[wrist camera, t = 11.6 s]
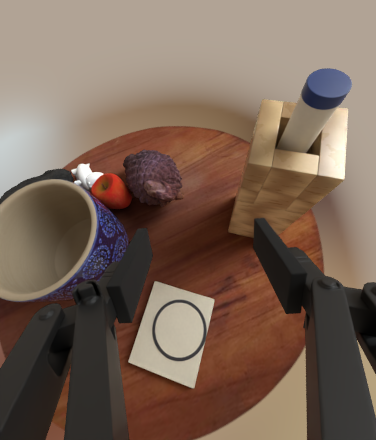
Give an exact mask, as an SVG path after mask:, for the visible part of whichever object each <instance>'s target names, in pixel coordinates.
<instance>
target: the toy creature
mask: <svg viewBox="0 0 376 440" xmlns="http://www.w3.org/2000/svg"><path fill="white" fill-rule="evenodd" d="M89 165H90V163H89V164H86V165H85V164H79V165H78V167H77V169H73V170H72V173H73V174H74V175H75V176H76V178H77V181H74V183H75V184H77V185H79V186H80V187H82V188H83V189H85V190H88V191H89V190H91V187H92V185H93V184H94V182H95V181H96V180H97V179H98V178H99V177H100V176H101V175H103V173H100V172H93V173H92V171H91V169H90V168H89ZM76 174H77V175H76Z"/></svg>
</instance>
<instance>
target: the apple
mask: <svg viewBox="0 0 376 440" xmlns="http://www.w3.org/2000/svg"><path fill="white" fill-rule="evenodd" d="M90 192H91V195H93V196H94V197H95V198H96V199H98V200H99V201H100V202H101V203H102V204H103V205H105V206H106V207H107V208H111V209H123V208H126V207H128V206H129V205H130V203H131V200H132V195H131V193H130V191H129V189H128V188H127V186H126V185H125V184H124V182H123V181H122V180H121V179H120V178H119V177H118V176H117V175H115V174H112V173H108V174H103V175H101V176H100V177H99V178H98V179H97V180H96V181H95V182H94V184H93V185H92V187H91V191H90Z"/></svg>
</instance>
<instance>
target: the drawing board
mask: <svg viewBox="0 0 376 440" xmlns="http://www.w3.org/2000/svg"><path fill="white" fill-rule="evenodd" d="M214 301H215V300H214V299H211V298H208V297H205V296H202V295H199V294H195V293H192V292H189V291H186V290H183V289H179V288H176V287H173V286H170V285H167V284H163V283H160V282H157V281H155V282H154V285H153V288H152V291H151V294H150V297H149V300H148V303H147V306H146V309H145V312H144V316H143V319H142V322H141V325H140V328H139V331H138V334H137V337H136V340H135V343H134V346H133V349H132V352H131V355H130V358H129V361H128V362H129V363H131V364H134V365H136V366H138V367H141V368H143V369H146V370H148V371H151V372H153V373H156V374H158V375H161V376H163V377H166V378H168V379H171V380H173V381H175V382H178V383H180V384H183V385H185V386H188V387H190V388H193V389H194V387H195V383H196V378H197V374H198V370H199V365H200V361H201V357H202V352H203V348H204V344H205V340H206V335H207V331H208V327H209V322H210V318H211V314H212V309H213V305H214Z"/></svg>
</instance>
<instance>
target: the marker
mask: <svg viewBox="0 0 376 440" xmlns="http://www.w3.org/2000/svg"><path fill="white" fill-rule="evenodd" d="M351 87H352V82H351V79H350V78H349V77H348V75H346V74H345V73H343V72H341V71H339V70H336V69H320V70H317V71H315V72H313V73H312V74H310V75H309V77H308V78H307V81H306V83H305V85H304V87H303V89H302V93H301V95H300V98H299V100H298V102H297V104H296V106H295V108H294V111H293V113H292V115H291V117H290V119H289V122H288V124H287V126H286V128H285V130H284V132H283V135H282V137H281V139H280V141H279V143H278V146H277V148H276V149H281V150H287V151H294V152H300V153H306V152H307V151H308V149H309V148H310V147H311V145H312V144H313V142H314V141H315V139H316V138H317V136H318V135H319V133H320V132H321V131H322V129H323V128H324V126H325V125H326V123H327V122H328V120H329V119H330V117H331V116H332V114H333V113H334V112H335V110H336V109H337V107H338V106H339V105H340V104H341V103H342V101H343V100H344V98H345V97H346V95H347V94H348V93H349V91H350V89H351Z"/></svg>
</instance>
